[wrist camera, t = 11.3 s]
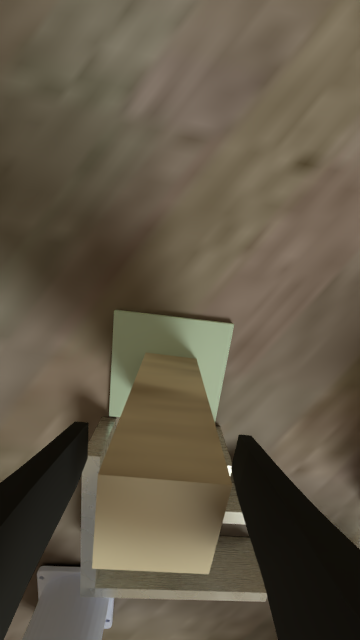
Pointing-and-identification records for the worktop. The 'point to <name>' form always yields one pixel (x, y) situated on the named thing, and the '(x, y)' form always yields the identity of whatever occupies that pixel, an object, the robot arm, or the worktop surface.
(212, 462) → the birch block
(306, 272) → the worktop surface
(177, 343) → the end pad
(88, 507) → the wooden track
